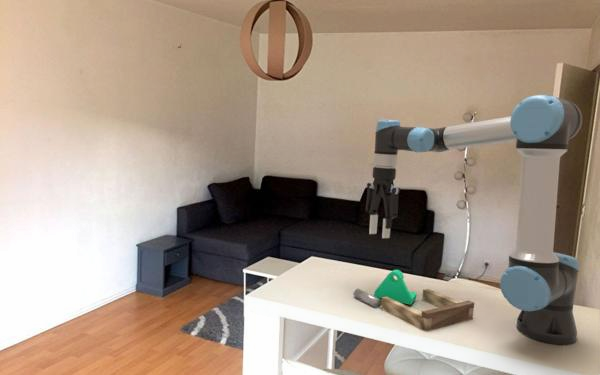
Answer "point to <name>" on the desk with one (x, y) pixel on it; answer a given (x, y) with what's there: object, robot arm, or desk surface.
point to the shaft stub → (367, 298)
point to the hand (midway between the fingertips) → (379, 235)
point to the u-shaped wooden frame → (431, 311)
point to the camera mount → (395, 289)
